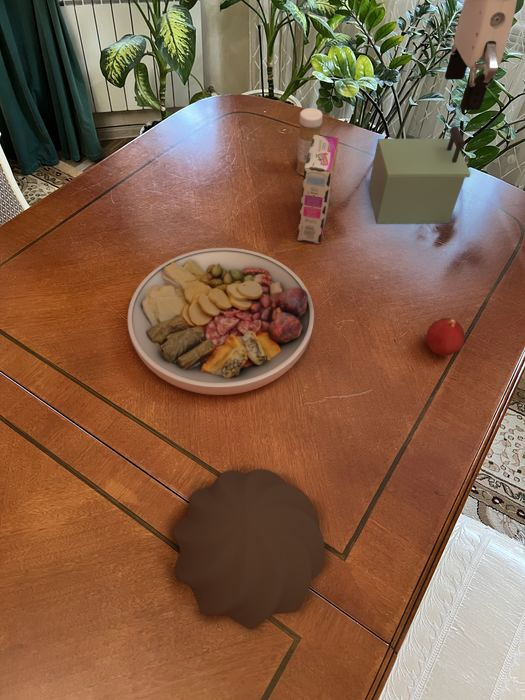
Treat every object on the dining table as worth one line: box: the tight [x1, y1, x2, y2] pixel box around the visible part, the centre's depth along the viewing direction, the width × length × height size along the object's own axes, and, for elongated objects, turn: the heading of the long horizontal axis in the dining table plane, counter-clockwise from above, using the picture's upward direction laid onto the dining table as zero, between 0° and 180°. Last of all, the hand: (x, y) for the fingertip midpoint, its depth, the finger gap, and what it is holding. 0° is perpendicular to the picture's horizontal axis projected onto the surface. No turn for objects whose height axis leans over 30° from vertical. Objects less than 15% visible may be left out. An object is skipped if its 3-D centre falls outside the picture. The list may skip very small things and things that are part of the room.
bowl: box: [127, 247, 315, 396], centre depth 93 cm, size 30×30×8 cm
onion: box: [425, 317, 465, 356], centre depth 91 cm, size 6×6×8 cm
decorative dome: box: [172, 468, 326, 630], centre depth 70 cm, size 19×20×10 cm
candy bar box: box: [296, 134, 340, 245], centre depth 107 cm, size 11×5×16 cm, turn 168°
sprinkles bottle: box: [296, 107, 324, 177], centre depth 119 cm, size 5×5×14 cm
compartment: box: [367, 142, 466, 225], centre depth 114 cm, size 15×12×11 cm
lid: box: [377, 125, 471, 178], centre depth 107 cm, size 15×12×5 cm
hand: (461, 93), depth 95 cm, fingers open, 9 cm apart
